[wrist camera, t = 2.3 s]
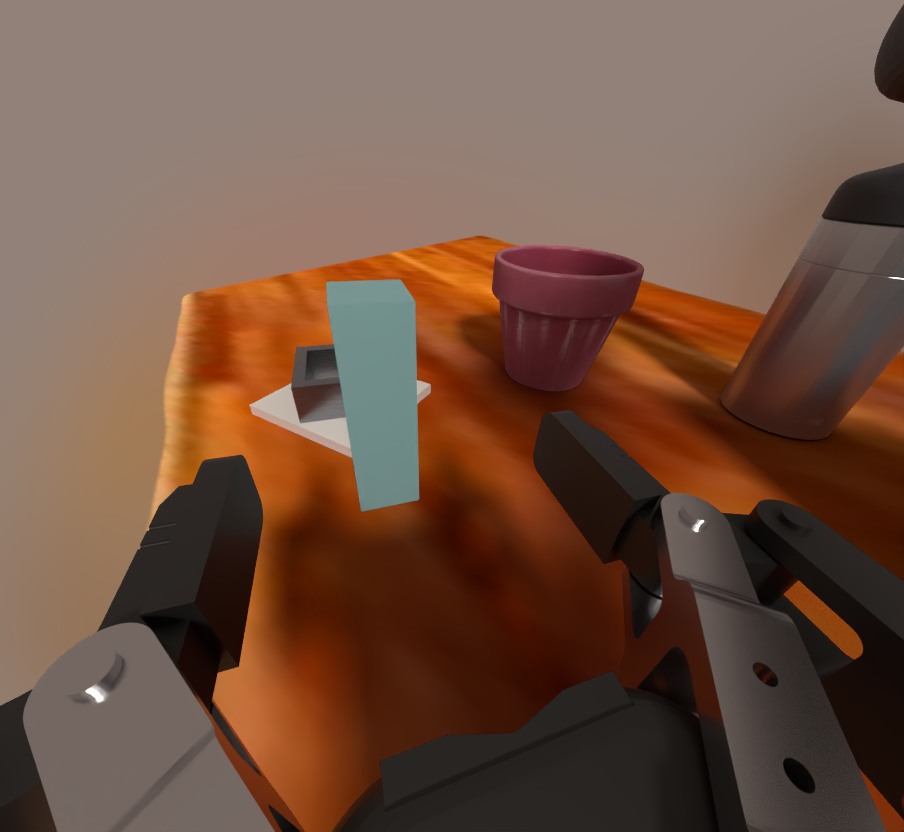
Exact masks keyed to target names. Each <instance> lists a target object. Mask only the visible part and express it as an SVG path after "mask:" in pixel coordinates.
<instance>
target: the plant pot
mask: <svg viewBox="0 0 904 832" xmlns="http://www.w3.org/2000/svg"><path fill="white" fill-rule="evenodd" d="M643 272H644V268H643V266H642V265H641V264H640V263H638V262H636V261H634V260H632V259H629V258H626V257H623V256H620V255H616V254H611V253H608V252H603V251H598V250H592V249H585V248H578V247H567V246H552V245H531V246H530V245H529V246H516V247H510V248H506V249H503V250H501V251H499V252H497V254H496V256H495V263H494V272H493V284H492V291H493V294H494V295H495V297H496V298H497V299H499V300H500V317H501V329H502V341H503V350H504V360H505V369H506V372H507V374H508V375H509V376H510V377H511V378H512V379H513V380H514V381H516V382H518V383H519V384H522V385H524V386H526V387H529V388H533V389H537V390H543V391H564V390H569V389H572V388H574V387H576V386H578V385H579V384H580V383H581V382H582V380H583V378H584V377H585V375H586V373H587V372H588V370H589V368H590V367H591V365H592V363H593V362H594V360H595V358H596V356H597V355H598V353H599V351H600V350H601V348H602V346H603V344H604V342H605V341H606V339H607V337H608V335H609V333H610V332H611V330H612V328H613V326H614V324H615V322H616V320H617V318H618V317H619V315H620V314H623V313H625V312H627V311H628V310H630V309H631V307H632V306H633V303H634V301H635V298H636V295H637V292H638V289H639V286H640V283H641V279H642V276H643Z"/></svg>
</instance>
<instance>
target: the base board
mask: <svg viewBox="0 0 904 832" xmlns="http://www.w3.org/2000/svg"><path fill="white" fill-rule="evenodd" d="M291 384H292V383H291ZM291 384H289V385H287V386H285V387H283V388H281V389H279V390H278V391H276V392H274V393H272V394H270V395H268V396H266V397H264V398H262V399H260V400H258V401H256V402H254V403H253V404H251V405H250V408H251V411H252V414H253V415H256V416H258V417H260V418H262V419H265V420H267V421H269V422H271V423H274V424H276V425H278V426H281V427H283V428H285V429H287V430H290V431H292V432H294V433H296V434H299V435H301V436H303V437H306V438H308V439H310V440H312V441H315V442H317V443H319V444H321V445H324V446H326V447H328V448H331V449H333V450H335V451H337V452H340V453H342V454H344V455H347V456H349V457H351V458H352V452H351V446H350V440H349V434H348V428H347V421H346V417H345V418H337V419H330V420H322V421H315V422H307V423H300V421H299V417H298V413H297V409H296V406H295V402H294V398H293V394H292V390H291ZM430 393H431V384H428V383H425V382H421V381H418V380H417V404H418V403H419V402H420V401H421V400H423V399H424V398H425V397H426V396H427V395H428V394H430Z"/></svg>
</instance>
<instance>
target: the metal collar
mask: <svg viewBox="0 0 904 832" xmlns="http://www.w3.org/2000/svg"><path fill="white" fill-rule="evenodd" d="M291 390H292V394H293V398H294V402H295V406H296V409H297V413H298V417H299V421H300V423H307V422H315V421H322V420H330V419H337V418H345V417H346V415H345V409H344V403H343V397H342V391H341V385H340V379H339V373H338V367H337V361H336V355H335V348H334V345H321V346H308V347H296V354H295V362H294V369H293V377H292V384H291Z"/></svg>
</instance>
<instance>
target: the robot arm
mask: <svg viewBox="0 0 904 832" xmlns="http://www.w3.org/2000/svg"><path fill="white" fill-rule="evenodd" d="M874 72H875V83H876V85H877V87H878V89H879V91H880V92H881V93H882V94H883V95H884V96H886V97H887V98H889V99H891V100H895V101H899V102H903V103H904V5H903V6H902V8H901V9H900V11H899V12H898V14H897V15H896V17H895V19H894V20H893V22H892V24H891V26H890V28H889V30H888V31H887V33H886V36H885V37H884V39H883V42H882V44H881V47H880V50H879V52H878V55H877V59H876V64H875V70H874ZM822 217H824V218H821V219H820V220H819V222H818V223H817V225H816V227H815V229H814V230H813V232H812V234H811V236H810V238H809V239H808V241H807V243H806V245H805V246H804V248H803V250H802V252H801V254H800V255H799V258H798V259H797V261H796V263H795V265H794V266H793V268H792V270H791V272H790V274H789V275H788V277H787V279H786V281H785V282H784V284H783V286H782V288H781V289H780V291H779V293H778V295H777V297H776V298H775V300H774V302H773V304H772V306H771V307H770V309H769V311H768V313H767V314H766V316H765V318H764V320H763V321H762V323H761V325H760V327H759V328H758V330H757V332H756V334H755V335H754V337H753V339H752V341H751V343H750V344H749V346H748V348H747V350H746V351H745V353H744V355H743V357H742V359H741V360H740V362H739V363H738V365H737V367H736V369H735V371H734V372H733V374H732V376H731V378H730V379H729V381H728V383H727V385H726V387H725V388H724V390H723V392H722V394H721V396H720V400H721V403H722V404H723V406H724V407H725V408H726V409H727V410H728V411H729V412H731V413H732V414H734V415H735V416H736V417H738V418H740V419H742V420H743V421H745V422H747V423H749V424H751V425H753V426H756V427H758V428H761V429H763V430H766V431H768V432H772V433H775V434H778V435H782V436H786V437H791V438H796V439H804V440H818V439H824V438H826V437H827V436H829V435H830V434H831V432H832V431H833V430H834V429H835V428H836V426H837V425H838V424H839V423H840V422H841V420H842V419H843V418H844V417H845V416H846V414H847V413H848V412H849V411H850V410H851V408H852V407H853V406H854V405H855V404H856V402H858V400H859V399H860V398H861V397H862V396H863V395H864V393H865V392H866V391H867V390H868V389H869V387H870V386H871V385H872V384H873V383H874V381H875V380H876V379H877V378H878V377H879V375H880V374H881V373H882V372H883V371H884V369H885V368H886V367H887V366H888V365H889V363H890V362H891V361H892V360H893V359H894V357H895V356H896V355H897V354H898V353H899V352H900V350H901V349H902V348H903V347H904V163H901V164H898V165H894V166H891V167H886V168H882V169H878V170H874V171H870V172H866V173H862V174H859V175H856V176H853V177H851V178H849V179H848V180H846V181H845V182H844V183H842V185H841V186H840V187H839V188H838V189H837V190H836V192H835V194H834V195H833V197H832V198H831V200H830V202H829V204H828V205H827V207H826V209H825V211H824V213H823V215H822ZM533 458H534V465H535V468H536V470H537V472H538V474H539V475H540V476H541V478H542V479H543V481H544V482H545V483H546V485H547V486H548V488H549V489H550V490H551V492H552V493H553V494H554V496H555V497H556V499H557V500H558V501H559V503H560V504H561V506H562V507H563V508H564V510H565V511H566V512H567V514H568V515H569V517H570V518H571V519H572V521H573V522H574V523H575V525H576V526H577V528H578V529H579V530H580V532H581V533H582V535H583V536H584V537H585V539H586V540H587V541H588V543H589V544H590V546H591V547H592V548H593V550H594V551H595V553H596V554H597V555H598V557H599V558H600V559H601V561H602V562H603V564H606V563H609V562H612V561H616V560H619V559H621V560H622V562H623V563H624V564H625V567H624V569H623V573H622V580H623V602H624V623H625V652H624V657H623V660H622V663H621V668H620V675H619V680H618V678H617V677H616V675H615V673H614V672H613V671H611V672H608V673H605V674H603V675H600V676H598V677H595V678H593V679H590V680H587V681H585V682H582V683H580V684H577V685H575V686H572V687H569V688H567V689H564V690H563V691H562V692H561V693H560V694H558V695H557V696H556V697H555V698H554V699H553V700H552V701H551V702H550V703H548V704H547V705H546V706H545V707H544V708H543V709H542V710H541V711H540V712H538V713H537V714H536V715H535V716H534V717H533V718H532V719H531V720H529V721H528V722H527V723H526V724H525V725H524V726H523V727H522V728H521V729H519V730H518V731H516V732H513V733H505V734H475V735H446V736H443V737H441V738H438V739H436V740H433V741H431V742H428V743H425V744H423V745H420V746H418V747H415V748H413V749H410V750H407V751H405V752H402V753H400V754H397V755H395V756H392V757H389V758H387V759H384V760H382V761H380V765H381V775H382V777H381V778H380V779H379V780H378V781H377V782H375V783H374V784H373V785H372V786H371V787H369V788H368V789H367V790H366V791H365V792H364V793H363V794H362V795H361V796H360V797H359V798H358V799H357V800H356V801H355V802H354V804H353V805H352V806H351V807H350V808H349V810H348V811H347V812H346V813H345V815H344V816H343V817H342V818H341V820H340V821H339V822H338V824H337V825H336V826H335V828H334V830H333V831H332V832H887V831H886V829H885V827H884V824H883V822H882V820H881V818H880V815H879V813H878V811H877V809H876V806H875V804H874V802H873V799H872V797H871V795H870V793H869V790H868V788H867V786H866V784H865V781H864V779H863V777H862V774H861V772H860V770H861V771H862V772H863V773H864V774H865V775H866V777H867V778H868V779H869V780H870V781H871V782H872V784H873V785H874V786H875V787H876V788H877V789H878V791H879V792H880V793H881V794H882V795H883V796H884V798H885V799H886V800H887V801H888V802H889V803H890V805H891V806H892V807H893V808H894V809H895V810H896V811H897V813H898V814H899V815H900V816H901V817H902V818H903V820H904V581H902V580H901V579H900V578H898V577H897V576H896V575H894V574H893V573H891V572H890V571H889V570H887V569H886V568H885V567H883V566H882V565H881V564H879V563H878V562H876V561H875V560H874V559H872V558H871V557H870V556H868V555H867V554H866V553H864V552H863V551H861V550H860V549H859V548H857V547H856V546H855V545H853V544H852V543H851V542H849V541H848V540H846V539H845V538H844V537H842V536H841V535H840V534H838V533H837V532H836V531H834V530H833V529H831V528H830V527H829V526H827V525H826V524H825V523H823V522H822V521H820V520H819V519H818V518H816V517H815V516H813V515H812V514H810V513H809V512H807V511H805V510H803V509H801V508H799V507H797V506H795V505H792V504H789V503H786V502H783V501H779V500H763V501H760V502H759V503H758V504H757V505H756V507H755V508H754V509H753V511H752V512H751V513H750V514H749V515H742V514H729V513H721V512H720V511H719V510H718V509H717V508H715V507H714V506H712V505H711V504H709V503H708V502H706V501H704V500H702V499H700V498H698V497H695V496H692V495H689V494H684V493H670V492H669V491H668V490H667V489H665V488H664V487H663V486H662V485H661V484H660V483H659V482H658V481H657V480H656V479H655V478H653V477H652V476H651V475H650V474H649V473H648V472H647V471H646V470H645V469H644V468H643V467H641V466H640V465H639V464H638V463H637V462H636V461H635V460H634V459H633V458H632V457H628V454H627V453H626V452H625V451H624V450H623V449H622V448H621V447H618V446H617V444H616V443H615V442H614V441H613V440H612V439H611V438H610V437H609V436H608V435H606V434H605V433H604V432H602V431H600V430H598V429H597V428H595V427H593V426H591V425H589V424H586V423H585V422H584V421H583V420H582V419H581V418H580V417H579V416H578V415H577V414H576V413H574V412H573V411H571V410H564V411H557V412H550V413H546V414H544V415H543V417H542V420H541V424H540V428H539V432H538V436H537V441H536V445H535V449H534V456H533ZM262 525H263V509H262V503H261V500H260V497H259V494H258V491H257V489H256V486H255V483H254V480H253V478H252V475H251V472H250V470H249V467H248V464H247V462H246V459H245V458H244V456H242V455H236V456H229V457H222V458H215V459H208V460H204V461H203V462H202V464H201V466H200V468H199V470H198V473H197V475H196V478H195V480H194V482H193V484H191V485H184V486H179V487H178V488H177V489H176V490H175V491H174V492H173V493H172V494H171V495H170V496H169V497H168V498H167V499H166V500H165V501H164V502H163V503H161V504H160V505H159V507H158V509H157V511H156V513H155V515H154V517H153V520H152V522H151V524H150V526H149V531H147V532H146V534H145V536H144V538H143V540H142V542H141V544H140V546H141V548H140V549H139V550H137V552H136V554H135V556H134V558H133V560H132V562H131V564H130V567H129V569H128V571H127V573H126V575H125V577H124V579H123V581H122V583H121V585H120V587H119V589H118V591H117V593H116V595H115V597H114V599H113V601H112V604H111V605H110V608H109V609H108V612H107V614H106V616H105V618H104V620H103V622H102V624H101V626H100V627H99V629H98V631H97V632H96V633H94V634H92V635H90V636H88V637H87V638H85V639H83V640H82V641H80V642H79V643H77V644H76V645H75V646H73V647H72V648H70V649H69V650H68V651H66V652H65V653H64V654H63V655H62V656H61V657H59V658H58V659H57V660H56V661H55V662H54V663H53V664H52V665H51V666H50V667H49V668H48V670H47V671H46V672H45V673H44V674H43V675H42V677H41V678H40V679H39V681H38V682H37V684H36V685H35V687H34V688H33V689H32V690H30V691H28V692H26V693H25V694H23V695H21V696H19V697H17V698H15V699H13V700H11V701H9V702H7V703H5V704H3V705H1V706H0V832H305V831H304V829H303V828H302V826H301V825H300V823H299V822H298V820H297V819H296V818H295V816H294V815H293V813H292V812H291V810H290V809H289V808H288V806H287V805H286V804H285V802H284V801H283V799H282V798H281V797H280V796H279V794H278V793H277V792H276V790H275V789H274V788H273V787H272V785H271V784H270V783H269V781H268V780H267V778H266V777H265V775H264V774H263V773H262V771H261V770H260V768H259V767H258V765H257V764H256V762H255V761H254V759H253V758H252V756H251V755H250V753H249V752H248V750H247V749H246V747H245V746H244V744H243V743H242V741H241V740H240V739H239V737H238V736H237V734H236V733H235V731H234V730H233V728H232V727H231V725H230V724H229V722H228V721H227V719H226V718H225V716H224V715H223V713H222V712H221V710H220V709H219V707H218V706H217V704H216V703H215V701H214V700H213V699H212V697H213V693H214V688H215V683H216V678H217V673H218V672H222V671H225V670H229V669H232V668H236V667H239V662H240V656H241V650H242V644H243V638H244V632H245V626H246V620H247V614H248V608H249V602H250V597H251V591H252V585H253V579H254V573H255V567H256V561H257V555H258V549H259V543H260V537H261V531H262ZM798 580H799V581H800V582H802V583H803V584H804V585H805V586H806V587H807V588H808V589H809V590H810V591H812V592H813V593H814V594H815V595H816V596H817V597H818V598H819V599H820V600H822V601H823V602H824V603H825V604H826V605H827V606H828V607H829V608H830V609H832V610H833V611H834V612H835V613H836V614H837V615H838V616H839V617H840V618H842V619H843V620H844V621H845V622H846V623H847V624H848V625H849V626H850V627H851V628H852V629H853V630H854V631H855V632H856V633H857V634H858V636H859V637H860V639H861V641H862V644H863V653H862V655H861V656H860V657H858V658H857V659H855V660H854V659H852V658H850V657H849V656H847V655H846V654H845V653H844V652H842V651H841V650H840V649H839V648H838V647H837V646H836V645H835V644H834V643H833V642H832V641H831V640H830V639H829V638H828V637H827V636H826V635H825V634H824V633H823V632H822V631H821V630H820V629H819V628H818V627H817V626H815V625H814V624H813V623H812V622H811V621H810V620H809V619H808V618H807V617H806V616H805V615H804V614H803V613H802V612H801V611H800V610H799V609H798V608H797V607H796V606H795V605H794V604H793V603H792V602H791V601H790V600H789V599H788V598H787V597H785V596H784V595H783V594H784V593H785V592H786V591H787V590H788V589H789V588H791V587H792V586H793V585H794V584H795V583H796V582H797V581H798ZM858 767H859V768H860V770H859V768H858ZM901 832H904V830H902V831H901Z"/></svg>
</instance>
